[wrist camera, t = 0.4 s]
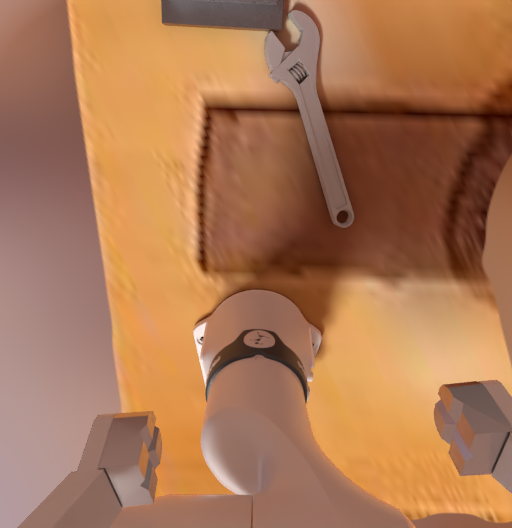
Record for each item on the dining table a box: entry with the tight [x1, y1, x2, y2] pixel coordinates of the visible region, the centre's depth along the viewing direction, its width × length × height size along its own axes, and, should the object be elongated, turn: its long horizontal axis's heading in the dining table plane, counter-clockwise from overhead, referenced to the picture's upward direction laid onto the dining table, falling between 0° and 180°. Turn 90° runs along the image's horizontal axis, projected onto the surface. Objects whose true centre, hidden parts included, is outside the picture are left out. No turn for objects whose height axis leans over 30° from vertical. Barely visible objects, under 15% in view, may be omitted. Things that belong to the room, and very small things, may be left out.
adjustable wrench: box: [264, 10, 354, 228], centre depth 48 cm, size 25×6×2 cm, turn 16°
